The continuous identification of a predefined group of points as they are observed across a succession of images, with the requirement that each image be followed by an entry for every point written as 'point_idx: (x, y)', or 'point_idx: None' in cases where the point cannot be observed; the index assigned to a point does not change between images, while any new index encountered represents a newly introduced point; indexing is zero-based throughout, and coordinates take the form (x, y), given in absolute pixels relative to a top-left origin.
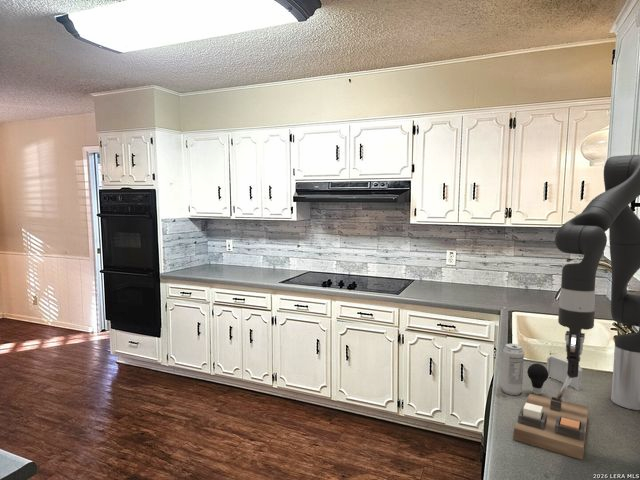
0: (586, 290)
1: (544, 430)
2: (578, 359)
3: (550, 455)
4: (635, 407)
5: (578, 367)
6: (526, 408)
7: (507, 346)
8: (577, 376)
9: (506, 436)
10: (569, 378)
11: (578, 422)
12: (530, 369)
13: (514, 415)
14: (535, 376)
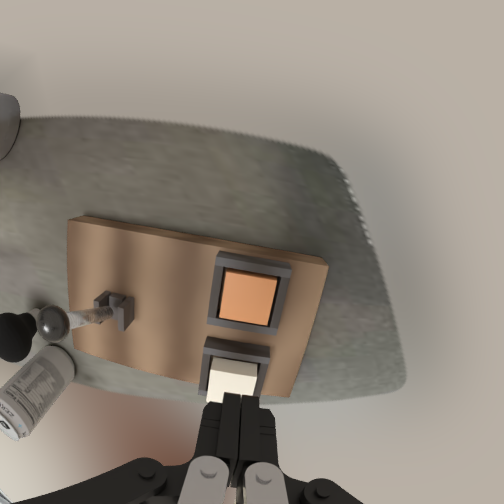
0: None
1: (272, 345)
2: (356, 500)
3: (327, 319)
4: (16, 115)
5: (237, 429)
6: None
7: (15, 438)
8: (257, 396)
9: None
10: (71, 324)
11: (233, 276)
12: (17, 361)
13: None
14: (27, 346)
